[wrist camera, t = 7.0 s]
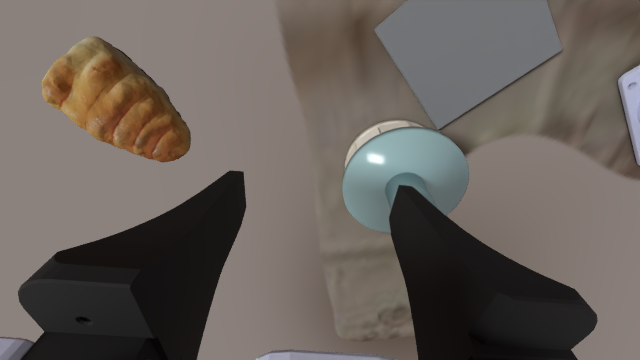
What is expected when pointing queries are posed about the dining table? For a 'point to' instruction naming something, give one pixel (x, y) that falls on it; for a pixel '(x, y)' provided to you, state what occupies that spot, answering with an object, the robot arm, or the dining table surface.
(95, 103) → the pastry
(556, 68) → the dining table surface
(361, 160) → the lid
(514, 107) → the dining table surface
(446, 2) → the mat
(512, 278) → the robot arm
